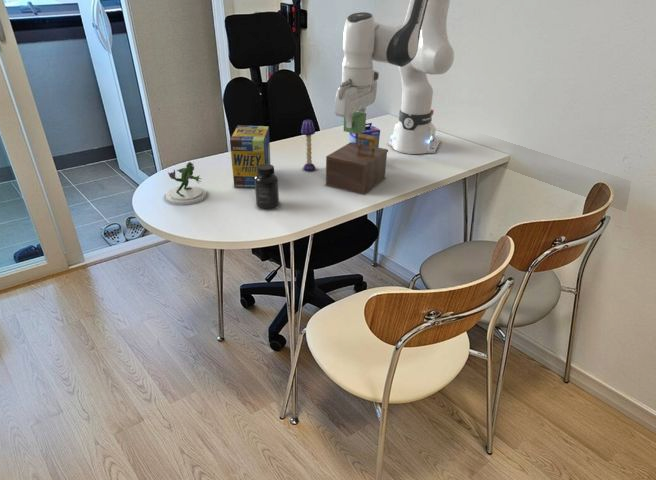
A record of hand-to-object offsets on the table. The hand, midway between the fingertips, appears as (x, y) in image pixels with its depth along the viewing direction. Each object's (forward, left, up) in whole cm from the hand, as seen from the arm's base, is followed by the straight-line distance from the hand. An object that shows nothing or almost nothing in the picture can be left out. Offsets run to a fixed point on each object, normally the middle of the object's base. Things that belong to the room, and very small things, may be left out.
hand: (354, 124), depth 150 cm
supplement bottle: (+27, -14, -20) cm, 36 cm away
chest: (-3, 0, -19) cm, 19 cm away
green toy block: (0, 0, -2) cm, 2 cm away
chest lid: (-3, 0, -10) cm, 11 cm away
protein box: (+13, -30, -20) cm, 38 cm away
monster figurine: (+35, -39, -20) cm, 56 cm away
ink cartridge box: (-20, -6, -20) cm, 28 cm away
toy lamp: (-3, -19, -19) cm, 27 cm away
